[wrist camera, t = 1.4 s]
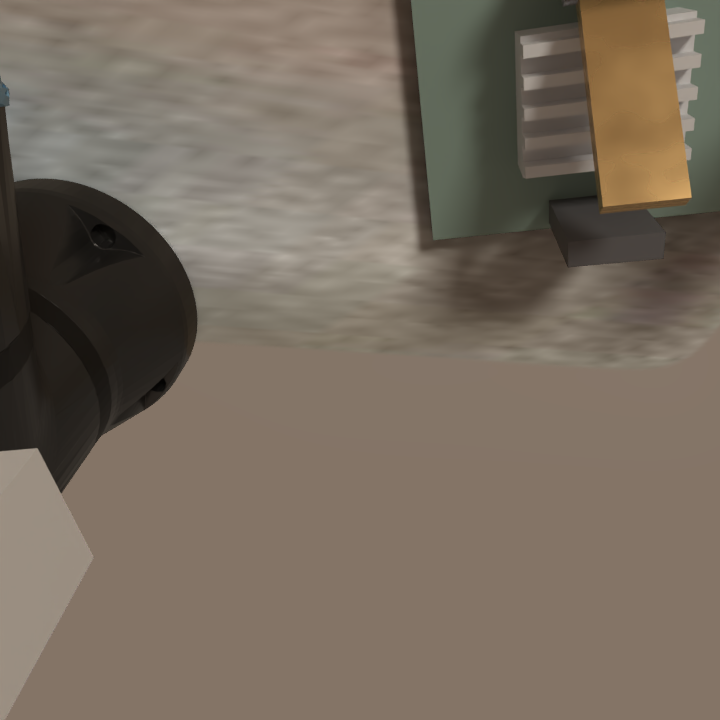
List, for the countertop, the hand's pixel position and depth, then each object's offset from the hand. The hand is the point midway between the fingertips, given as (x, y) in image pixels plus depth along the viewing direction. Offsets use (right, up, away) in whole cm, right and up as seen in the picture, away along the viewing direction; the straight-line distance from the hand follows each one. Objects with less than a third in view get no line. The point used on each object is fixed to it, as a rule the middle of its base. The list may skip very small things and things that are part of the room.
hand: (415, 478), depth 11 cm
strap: (+9, +12, +14) cm, 21 cm away
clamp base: (+10, +15, +21) cm, 28 cm away
